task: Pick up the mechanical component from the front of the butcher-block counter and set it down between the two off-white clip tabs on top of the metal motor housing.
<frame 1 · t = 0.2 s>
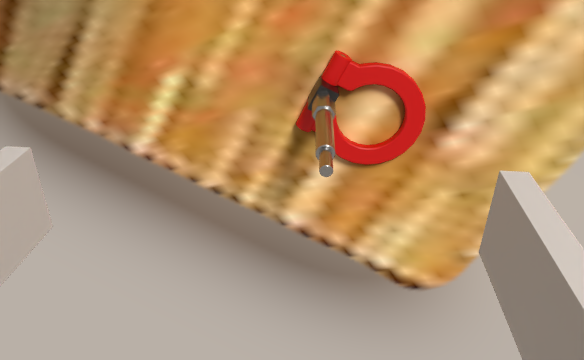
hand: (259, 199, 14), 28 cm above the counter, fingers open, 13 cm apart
tow hook: (365, 109, 42), on the counter
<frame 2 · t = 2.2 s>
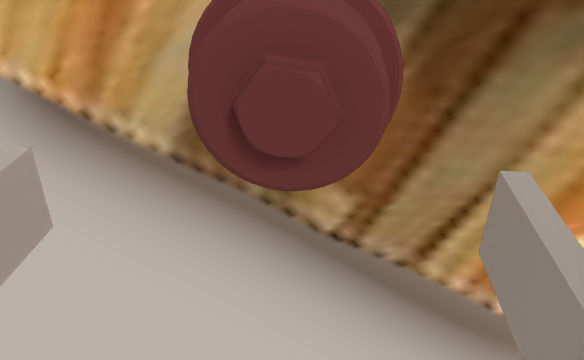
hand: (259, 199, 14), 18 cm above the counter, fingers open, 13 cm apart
mechanical component: (304, 36, 30), on the counter
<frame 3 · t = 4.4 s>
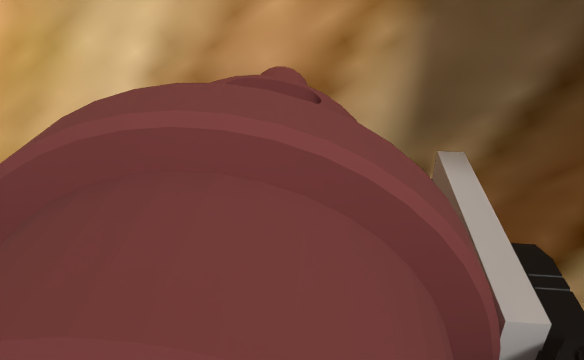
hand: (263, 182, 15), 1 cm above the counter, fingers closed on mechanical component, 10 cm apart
mechanical component: (269, 161, 16), on the counter, touching gripper
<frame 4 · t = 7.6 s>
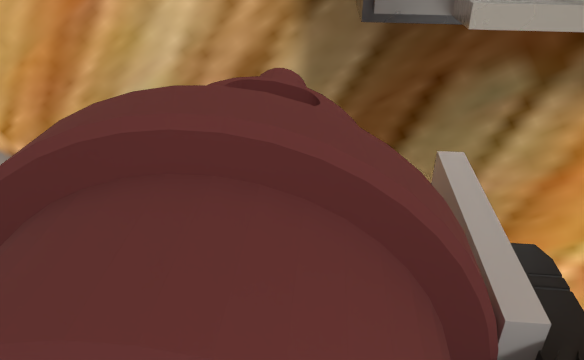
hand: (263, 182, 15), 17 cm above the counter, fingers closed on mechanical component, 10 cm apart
mechanical component: (268, 162, 16), point 16 cm above the counter, touching gripper
when the fingers open (9 cm above the counter, at t = 11.1 s): mechanical component drops 1 cm, resting on motor housing.
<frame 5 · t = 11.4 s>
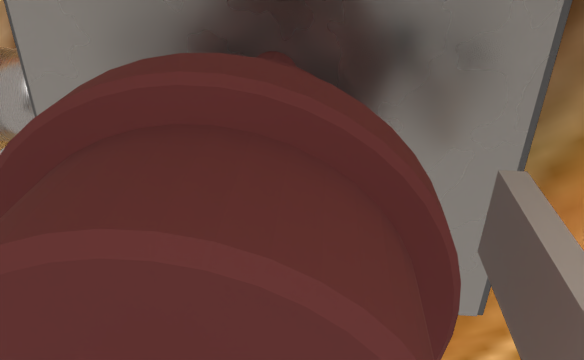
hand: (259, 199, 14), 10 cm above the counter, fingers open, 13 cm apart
motor housing: (289, 84, 23), on the counter
mechanical component: (263, 140, 17), point 6 cm above the counter, touching motor housing
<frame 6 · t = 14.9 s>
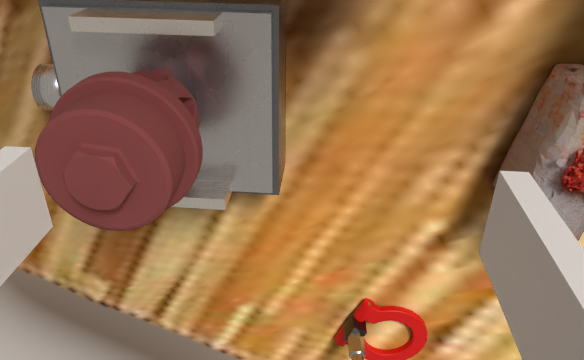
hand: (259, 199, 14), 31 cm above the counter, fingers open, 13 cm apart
food item: (552, 129, 45), on the counter
tow hook: (384, 328, 59), on the counter
motor housing: (188, 81, 45), on the counter
mechanical component: (162, 106, 39), point 6 cm above the counter, touching motor housing
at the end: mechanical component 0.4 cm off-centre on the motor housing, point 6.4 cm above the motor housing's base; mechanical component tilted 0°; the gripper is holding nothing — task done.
